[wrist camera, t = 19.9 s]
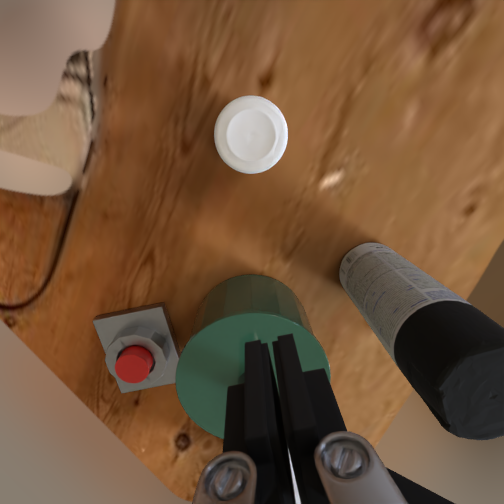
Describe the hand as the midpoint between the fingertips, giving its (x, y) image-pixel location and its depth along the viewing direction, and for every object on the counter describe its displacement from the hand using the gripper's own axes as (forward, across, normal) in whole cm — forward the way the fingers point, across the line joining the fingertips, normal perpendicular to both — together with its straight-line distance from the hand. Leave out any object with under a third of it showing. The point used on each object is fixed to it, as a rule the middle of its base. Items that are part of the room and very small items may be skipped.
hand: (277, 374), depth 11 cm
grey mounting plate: (+25, +16, +12) cm, 32 cm away
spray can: (+25, -11, +8) cm, 29 cm away
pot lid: (+16, +3, +12) cm, 20 cm away
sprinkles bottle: (+25, -1, -8) cm, 27 cm away
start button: (+23, +16, +12) cm, 30 cm away
